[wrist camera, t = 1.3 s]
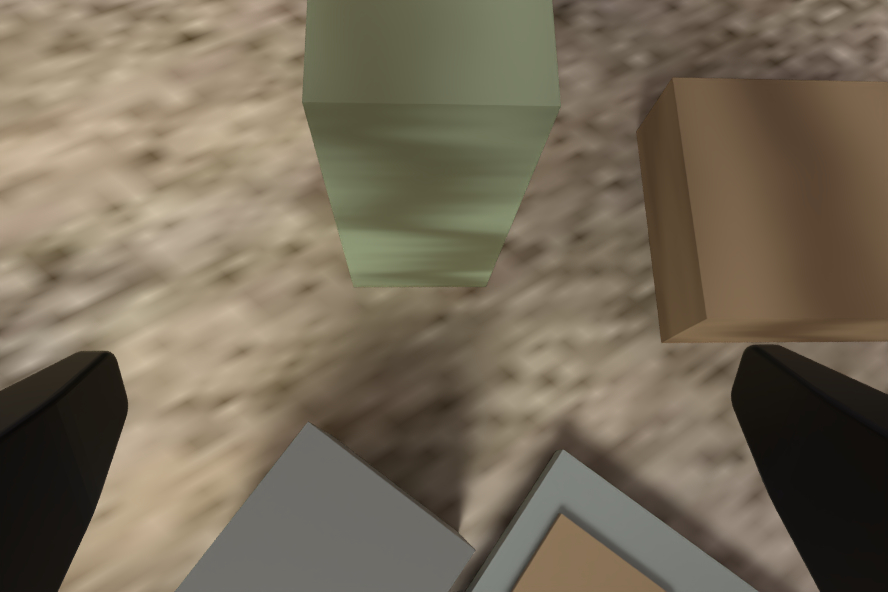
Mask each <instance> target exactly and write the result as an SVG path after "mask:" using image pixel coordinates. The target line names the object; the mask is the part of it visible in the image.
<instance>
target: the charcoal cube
mask: <svg viewBox="0 0 888 592" xmlns="http://www.w3.org/2000/svg"><path fill="white" fill-rule="evenodd" d="M474 552H475V549H474V548H473V547H472V546H471V545H470V544H469V543H468V542H467V541H466V540H465V539H464V538H463V537H462V536H461V535H460V534H459V533H458V532H457V531H456V530H455V529H453V528H452V527H451V526H449V525H448V524H447V523H445V522H444V521H443V520H441V519H440V518H439V517H438V516H436V515H435V514H434V513H432V512H431V511H430V510H428V509H427V508H426V507H425V506H423V505H422V504H421V503H419V502H418V501H417V500H415V499H414V498H413V497H411V496H410V495H409V494H408V493H406V492H405V491H404V490H402V489H401V488H400V487H398V486H397V485H396V484H395V483H393V482H392V481H391V480H389V479H388V478H387V477H385V476H384V475H383V474H381V473H380V472H379V471H378V470H376V469H375V468H374V467H372V466H371V465H370V464H368V463H367V462H366V461H364V460H363V459H362V458H361V457H359V456H358V455H357V454H355V453H354V452H353V451H351V450H350V449H349V448H348V447H346V446H345V445H344V444H342V443H341V442H340V441H338V440H337V439H336V438H334V437H333V436H332V435H330V434H329V433H327V432H325V431H323V430H322V429H320V428H318V427H316V426H315V425H313V424H311V423H310V422H307V424H306V425H305V426H304V427H303V429H302V430H301V431H300V433H299V434H298V435H297V436H296V438H295V439H294V440H293V441H292V443H291V444H290V445H289V447H288V448H287V449H286V450H285V452H284V453H283V454H282V456H281V457H280V458H279V459H278V461H277V462H276V463H275V464H274V466H273V467H272V468H271V470H270V471H269V472H268V473H267V475H266V476H265V477H264V479H263V480H262V481H261V482H260V484H259V485H258V486H257V487H256V489H255V490H254V491H253V493H252V494H251V495H250V496H249V498H248V499H247V500H246V501H245V503H244V504H243V505H242V507H241V508H240V509H239V510H238V512H237V513H236V514H235V516H234V517H233V518H232V519H231V521H230V522H229V523H228V524H227V526H226V527H225V528H224V530H223V531H222V532H221V533H220V535H219V536H218V537H217V538H216V540H215V541H214V542H213V544H212V545H211V546H210V547H209V549H208V550H207V551H206V553H205V554H204V555H203V556H202V558H201V559H200V560H199V561H198V563H197V564H196V565H195V567H194V568H193V569H192V570H191V572H190V573H189V574H188V575H187V577H186V578H185V579H184V581H183V582H182V583H181V584H180V586H179V587H178V588H177V590H176V591H175V592H448V591H449V590H450V588H451V587H452V585H453V584H454V582H455V581H456V579H457V578H458V576H459V575H460V573H461V572H462V570H463V568H464V567H465V565H466V564H467V562H468V561H469V559H470V558H471V556H472V555H473V553H474Z"/></svg>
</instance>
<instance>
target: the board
mask: <svg viewBox="0 0 888 592" xmlns="http://www.w3.org/2000/svg"><path fill="white" fill-rule="evenodd" d="M465 592H759V591H757V590H756V589H754V588H753V587H752V586H750V585H749V584H748V583H746V582H745V581H743V580H742V579H741V578H739V577H738V576H737V575H735V574H734V573H732V572H731V571H730V570H728V569H727V568H726V567H724V566H723V565H721V564H720V563H719V562H717V561H716V560H715V559H713V558H712V557H710V556H709V555H708V554H706V553H705V552H704V551H702V550H701V549H699V548H698V547H697V546H695V545H694V544H693V543H691V542H690V541H688V540H687V539H686V538H684V537H683V536H682V535H680V534H679V533H677V532H676V531H675V530H673V529H672V528H671V527H669V526H668V525H666V524H665V523H664V522H662V521H661V520H660V519H658V518H657V517H655V516H654V515H653V514H651V513H650V512H649V511H647V510H646V509H644V508H643V507H642V506H640V505H639V504H638V503H636V502H635V501H633V500H632V499H631V498H629V497H628V496H627V495H625V494H624V493H622V492H621V491H620V490H618V489H617V488H616V487H614V486H613V485H611V484H610V483H609V482H607V481H606V480H605V479H603V478H602V477H600V476H599V475H598V474H596V473H595V472H594V471H592V470H591V469H589V468H588V467H587V466H585V465H584V464H583V463H581V462H580V461H578V460H577V459H576V458H574V457H573V456H572V455H570V454H569V453H567V452H566V451H565V450H557V451H556V452H555V454H554V455H553V457H552V458H551V460H550V461H549V463H548V464H547V466H546V467H545V469H544V471H543V472H542V474H541V475H540V477H539V478H538V480H537V481H536V483H535V485H534V486H533V488H532V489H531V491H530V492H529V494H528V495H527V497H526V498H525V500H524V502H523V503H522V505H521V506H520V508H519V509H518V511H517V512H516V514H515V516H514V517H513V519H512V520H511V522H510V523H509V525H508V526H507V528H506V529H505V531H504V533H503V534H502V536H501V537H500V539H499V540H498V542H497V543H496V545H495V547H494V548H493V550H492V551H491V553H490V554H489V556H488V557H487V559H486V560H485V562H484V564H483V565H482V567H481V568H480V570H479V571H478V573H477V574H476V576H475V578H474V579H473V581H472V582H471V584H470V585H469V587H468V588H467V590H466V591H465Z"/></svg>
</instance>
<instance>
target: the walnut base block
mask: <svg viewBox="0 0 888 592" xmlns="http://www.w3.org/2000/svg"><path fill="white" fill-rule="evenodd" d="M636 133H637V142H638V150H639V159H640V167H641V175H642V184H643V192H644V201H645V209H646V217H647V226H648V234H649V243H650V251H651V259H652V268H653V276H654V285H655V293H656V301H657V310H658V318H659V326H660V335H661V343H709V342H865V341H888V82H868V81H820V80H772V79H724V78H677V77H673V78H672V79H671V81H670V82H669V84H668V85H667V87H666V88H665V90H664V91H663V93H662V94H661V96H660V97H659V99H658V100H657V102H656V103H655V105H654V106H653V108H652V109H651V111H650V112H649V114H648V115H647V117H646V118H645V120H644V121H643V123H642V124H641V126H640V127H639V129H638V130H637V132H636Z"/></svg>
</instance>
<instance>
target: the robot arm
mask: <svg viewBox="0 0 888 592" xmlns="http://www.w3.org/2000/svg"><path fill="white" fill-rule="evenodd" d="M731 401H732V406H733V409H734V411H735V414H736V416H737V419H738V421H739V424H740V426H741V428H742V431H743V433H744V436H745V438H746V441H747V443H748V446H749V448H750V451H751V453H752V456H753V458H754V461H755V463H756V466H757V468H758V471H759V473H760V476H761V478H762V481H763V483H764V485H765V487H766V490H767V492H768V494H769V496H770V498H771V500H772V502H773V504H774V506H775V508H776V510H777V512H778V514H779V516H780V518H781V520H782V522H783V523H784V525H785V527H786V529H787V531H788V533H789V535H790V537H791V538H792V540H793V542H794V544H795V546H796V548H797V550H798V552H799V553H800V555H801V557H802V559H803V561H804V563H805V565H806V566H807V568H808V570H809V572H810V574H811V576H812V578H813V580H814V581H815V583H816V585H817V587H818V589H819V591H820V592H888V394H885V393H883V392H881V391H879V390H877V389H874V388H872V387H870V386H868V385H866V384H863V383H861V382H859V381H857V380H855V379H852V378H850V377H848V376H846V375H844V374H841V373H839V372H837V371H835V370H833V369H830V368H828V367H826V366H824V365H822V364H819V363H817V362H815V361H813V360H811V359H808V358H806V357H804V356H802V355H799V354H797V353H795V352H793V351H791V350H788V349H786V348H784V347H782V346H779V345H774V344H767V345H751V346H749V347H747V348H746V349H745V351H744V352H743V355H742V358H741V361H740V364H739V368H738V371H737V374H736V377H735V380H734V384H733V387H732V391H731ZM127 412H128V399H127V395H126V391H125V387H124V384H123V380H122V376H121V373H120V369H119V366H118V362H117V359H116V357H115V356H114V354H112V353H111V352H109V351H80V352H77V353H75V354H73V355H71V356H69V357H67V358H65V359H63V360H61V361H59V362H57V363H55V364H53V365H51V366H49V367H47V368H45V369H43V370H41V371H39V372H37V373H35V374H33V375H31V376H29V377H27V378H25V379H23V380H21V381H19V382H17V383H15V384H13V385H11V386H9V387H7V388H5V389H3V390H1V391H0V592H58V590H59V588H60V586H61V584H62V581H63V579H64V577H65V575H66V573H67V571H68V569H69V566H70V564H71V562H72V560H73V558H74V556H75V554H76V551H77V549H78V547H79V545H80V543H81V541H82V538H83V536H84V534H85V532H86V530H87V528H88V525H89V523H90V521H91V518H92V516H93V514H94V511H95V509H96V506H97V503H98V501H99V498H100V495H101V492H102V489H103V486H104V483H105V480H106V477H107V474H108V471H109V468H110V465H111V462H112V459H113V456H114V453H115V450H116V447H117V444H118V441H119V438H120V435H121V432H122V429H123V426H124V423H125V420H126V416H127Z"/></svg>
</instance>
